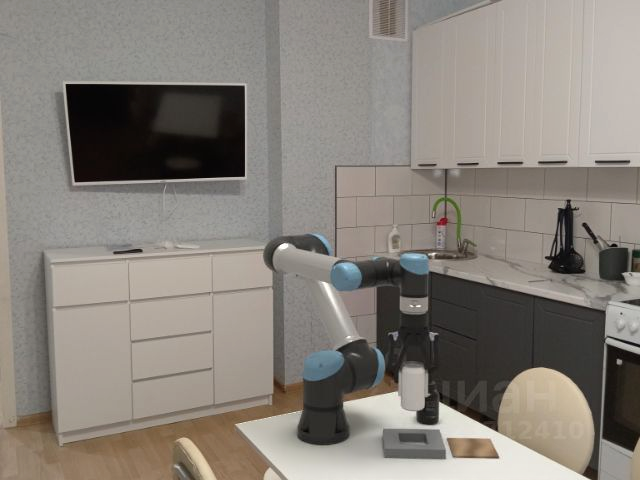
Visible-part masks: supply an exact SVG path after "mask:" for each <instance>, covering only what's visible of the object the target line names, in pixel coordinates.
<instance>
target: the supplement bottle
mask: <svg viewBox="0 0 640 480" xmlns="http://www.w3.org/2000/svg"><path fill="white" fill-rule="evenodd" d="M415 416H416V417H415V419H416V422H417V423H419V424H421V425H425V426H426V425H427V426H431V425H432V426H433V425H436V424H438V423H439V421H440V393H439V392H438V390H437V383H436V382H435V381H433V380H432V384H428V397H425V407H424V408H423V409H422V410H420V411H415Z"/></svg>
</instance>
